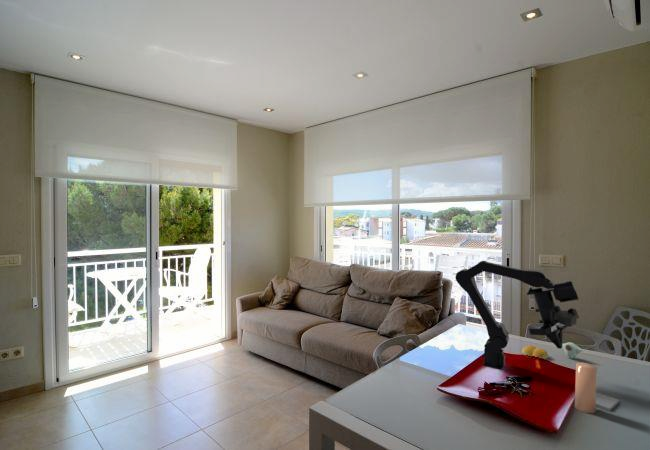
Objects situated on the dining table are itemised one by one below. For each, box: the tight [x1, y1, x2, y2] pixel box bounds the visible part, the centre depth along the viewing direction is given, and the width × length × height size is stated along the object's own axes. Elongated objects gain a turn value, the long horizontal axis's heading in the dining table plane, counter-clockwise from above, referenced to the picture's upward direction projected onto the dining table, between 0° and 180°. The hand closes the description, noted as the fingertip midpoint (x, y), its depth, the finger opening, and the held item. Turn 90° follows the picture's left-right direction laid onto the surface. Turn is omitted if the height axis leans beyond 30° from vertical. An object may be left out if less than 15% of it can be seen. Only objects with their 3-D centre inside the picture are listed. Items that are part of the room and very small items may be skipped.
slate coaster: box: [596, 392, 620, 412], centre depth 111 cm, size 9×9×1 cm
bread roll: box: [521, 344, 549, 360], centre depth 148 cm, size 8×9×4 cm
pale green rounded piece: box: [562, 341, 584, 359], centre depth 146 cm, size 8×4×7 cm, turn 27°
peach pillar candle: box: [574, 361, 598, 414], centre depth 106 cm, size 5×5×13 cm
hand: (560, 348), depth 125 cm, fingers closed
